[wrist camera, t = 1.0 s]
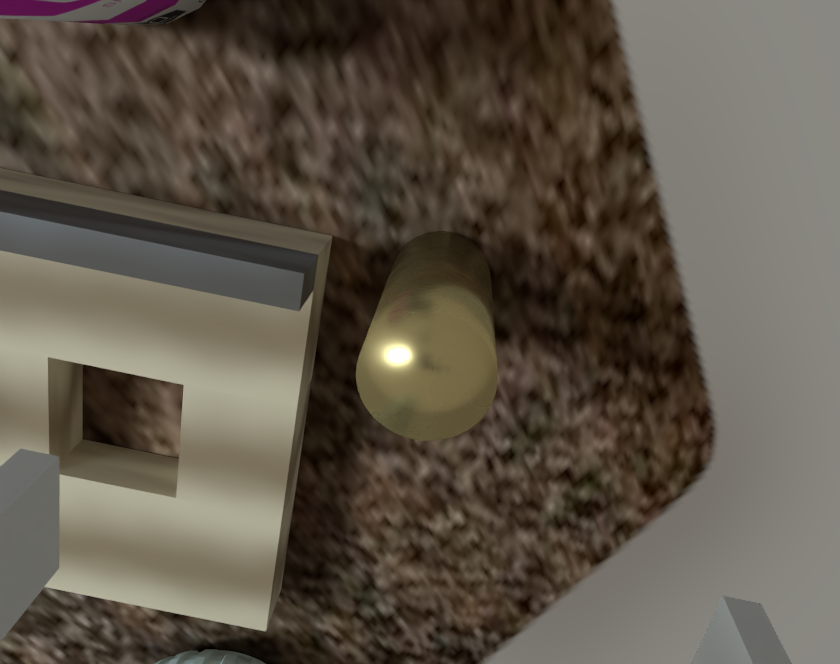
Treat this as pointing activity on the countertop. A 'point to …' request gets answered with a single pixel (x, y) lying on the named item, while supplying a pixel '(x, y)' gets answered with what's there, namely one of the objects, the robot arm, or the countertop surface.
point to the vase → (210, 658)
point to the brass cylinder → (431, 341)
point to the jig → (169, 361)
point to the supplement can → (100, 10)
